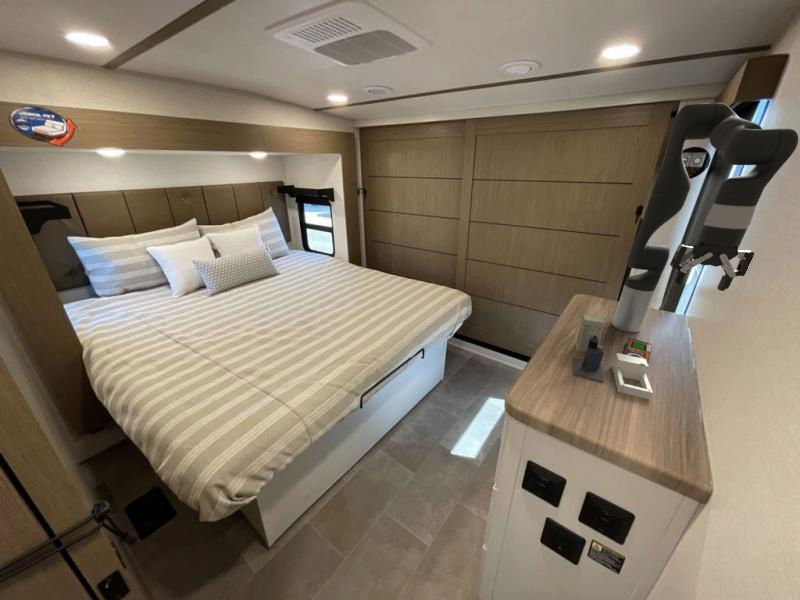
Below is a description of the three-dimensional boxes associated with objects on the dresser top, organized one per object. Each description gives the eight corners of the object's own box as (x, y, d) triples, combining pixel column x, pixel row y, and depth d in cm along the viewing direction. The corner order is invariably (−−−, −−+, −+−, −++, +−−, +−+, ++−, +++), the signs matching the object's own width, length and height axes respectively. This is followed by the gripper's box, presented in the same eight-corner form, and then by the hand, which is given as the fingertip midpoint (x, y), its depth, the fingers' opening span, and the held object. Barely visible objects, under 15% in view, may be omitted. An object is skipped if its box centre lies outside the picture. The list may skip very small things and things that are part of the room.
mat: (572, 358, 102) (573, 357, 102) (600, 364, 99) (600, 363, 99) (573, 375, 94) (573, 374, 94) (603, 382, 91) (603, 381, 91)
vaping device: (579, 366, 97) (588, 334, 92) (594, 365, 98) (604, 333, 93) (584, 371, 95) (594, 338, 90) (600, 370, 95) (610, 337, 90)
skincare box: (595, 348, 108) (604, 317, 102) (596, 354, 104) (606, 323, 99) (574, 344, 110) (583, 313, 105) (575, 350, 106) (584, 319, 101)
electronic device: (623, 356, 99) (629, 336, 110) (620, 363, 101) (626, 343, 111) (649, 364, 95) (652, 342, 106) (646, 371, 97) (650, 349, 107)
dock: (608, 350, 106) (613, 337, 104) (634, 355, 103) (639, 342, 101) (617, 391, 87) (623, 376, 85) (649, 399, 84) (656, 384, 82)
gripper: (758, 224, 73) (728, 286, 80) (682, 219, 79) (661, 278, 85) (776, 229, 67) (742, 297, 73) (692, 224, 73) (668, 287, 79)
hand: (698, 287), depth 79 cm, fingers open, 8 cm apart
